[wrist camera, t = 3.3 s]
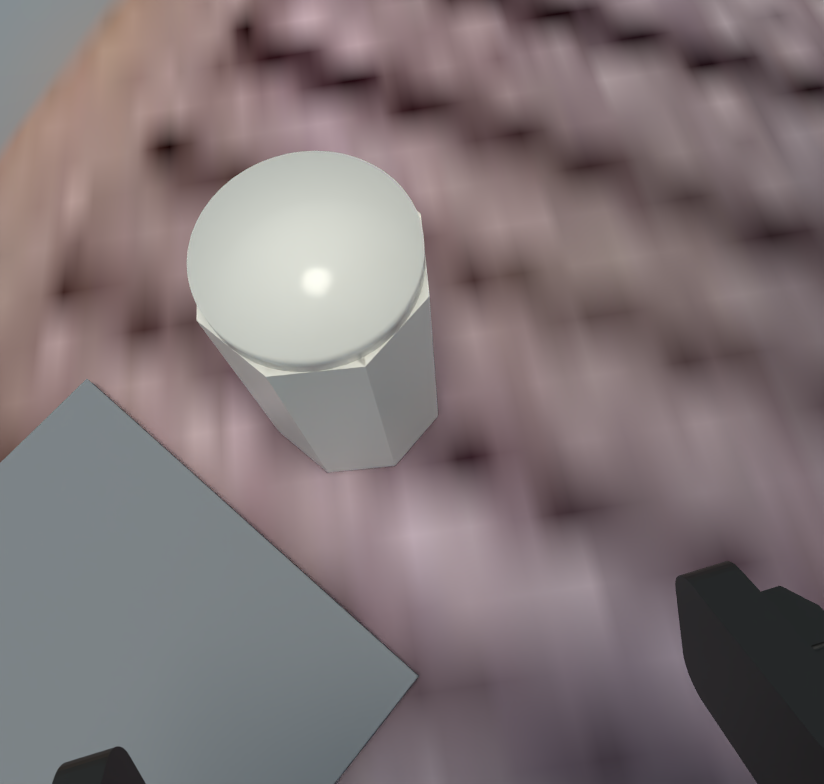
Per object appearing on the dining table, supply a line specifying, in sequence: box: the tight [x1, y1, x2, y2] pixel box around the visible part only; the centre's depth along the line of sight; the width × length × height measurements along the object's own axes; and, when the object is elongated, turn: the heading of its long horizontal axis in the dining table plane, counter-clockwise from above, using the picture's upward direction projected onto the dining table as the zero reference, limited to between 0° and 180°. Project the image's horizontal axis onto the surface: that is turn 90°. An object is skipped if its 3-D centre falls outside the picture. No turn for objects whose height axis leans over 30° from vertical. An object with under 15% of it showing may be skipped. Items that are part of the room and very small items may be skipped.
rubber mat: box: [0, 379, 419, 784], centre depth 24 cm, size 16×16×1 cm
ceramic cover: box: [187, 151, 438, 473], centre depth 23 cm, size 6×6×10 cm
